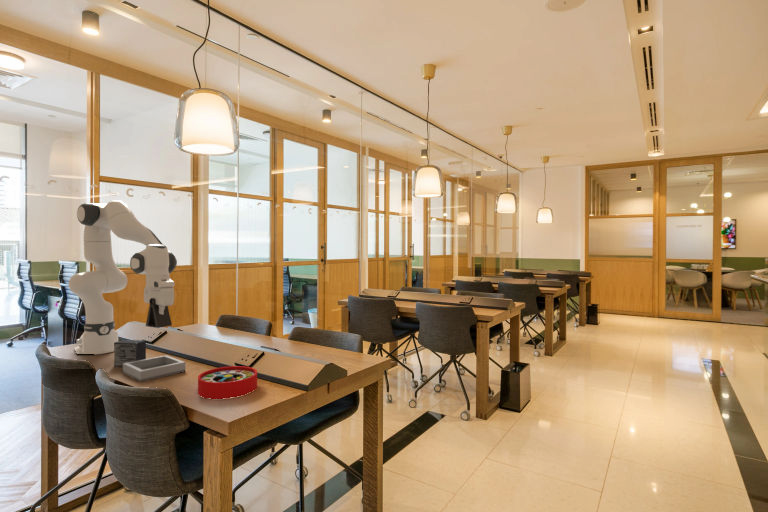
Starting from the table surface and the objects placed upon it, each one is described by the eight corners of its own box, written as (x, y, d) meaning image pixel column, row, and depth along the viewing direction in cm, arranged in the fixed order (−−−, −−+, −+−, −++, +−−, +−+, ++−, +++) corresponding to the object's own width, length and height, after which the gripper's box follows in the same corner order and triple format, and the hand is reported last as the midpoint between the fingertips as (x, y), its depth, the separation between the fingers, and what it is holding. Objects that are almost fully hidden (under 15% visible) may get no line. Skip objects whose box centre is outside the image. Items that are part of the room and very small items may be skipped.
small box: (147, 363, 182) (147, 339, 182) (136, 368, 175) (136, 343, 175) (124, 362, 183) (124, 339, 183) (113, 367, 176) (113, 342, 176)
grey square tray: (122, 373, 168) (122, 363, 168) (166, 364, 181) (166, 355, 181) (140, 382, 157) (140, 371, 157) (185, 371, 171) (185, 362, 170)
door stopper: (145, 326, 177) (145, 297, 176) (159, 323, 182) (158, 296, 182) (158, 328, 172) (157, 298, 172) (171, 325, 177) (171, 297, 177)
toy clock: (266, 367, 158) (240, 384, 139) (266, 382, 159) (240, 402, 139) (217, 364, 161) (185, 381, 142) (217, 379, 162) (185, 398, 142)
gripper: (139, 281, 180) (139, 313, 181) (161, 283, 168) (161, 318, 168) (154, 280, 185) (155, 311, 186) (176, 282, 173) (177, 316, 173)
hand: (158, 314), depth 177 cm, fingers closed on door stopper, 3 cm apart
